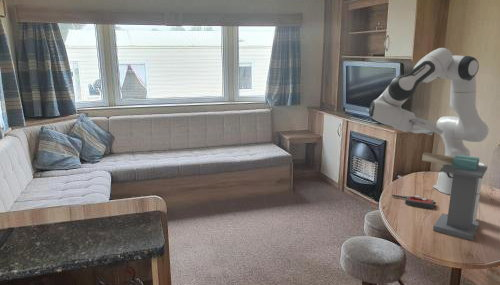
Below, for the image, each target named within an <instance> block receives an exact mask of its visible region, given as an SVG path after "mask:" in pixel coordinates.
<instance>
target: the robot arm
mask: <svg viewBox="0 0 500 285" xmlns="http://www.w3.org/2000/svg"><path fill="white" fill-rule="evenodd" d="M479 66H480V65H479V62H478V60H477V59H476V57H474V56H471V55H456V54H455V55H453V53H452V51H451V50H450V49H448V48H445V47H438V48H436V49H434V50H432V51H430V52H429V53H427V54H426V55H425V56H423V57H422V58H421V59H420V60H419V61H417V63H416V64H415V65H414V67H413V69H412V70H410V71H409V72H408V73H404V74H401V75H397V76H395V77H394V78H393V79H392V80H391V81H390V83H389V85H388V86H387V87H386V88H385V89H384V91H383V92H382V93H381V94H380V95H379V96H378V97H377V98H376V99H374V100H372V102H371V103H370V106H369V108H368V114H369V117H370V118H371V119H372V120H374V121H376V122H378V123H380V124H383V125H386V126H390V127H392V128H394V129H396V130H399V131H402V132H404V133H408V132H410V133H412V134H425V135H430V136H433V135H434V133H435V134H438V135H439V136H440V137H441V139H442V142H443V144H444V149H445V150H444V155H446V156H452V157H455V156H456V155H463V156H470V157H471V152H470V149H468V148H467V147H466V146H465V144H464V141H466V142H470V143H476V142H477V143H480V142H483V141H484V140H486V138H487V137H488V136H489V128H488V127H489V126H488V125H487V124H486V122H484V121H483V120H482V118H481V117H480V115H479V113H478V110H477V106H476V104H477V102H476V97H477V95H476V94H477V80H476V75H477V73H478V72H479V68H480V67H479ZM436 79H443V80H444V79H445V80H451V81H450V82H451V83H450V87H449V88H450V92H449V93H450V94H449V107H450V109H451V110H452V111H454V112H455V114H456V115H457V116H453V115H448V116H447V115H446V116H441V117H440V118H439V119H438V120H437V121H436V122H433V121H430V120H427V119H424V118H420V117H417V116H416V115H415V112H412V111H409V110H408V109H404V108H402V105H403V104H404V103H405V102H406V101H408V100H409V99H410V98H411V97H412V96H413V95H414V93H415V92H416V89H417V87H418V85H419V84H421V83H427V84H428V83H430V82H432V81H433V80H434V81H435V80H436ZM444 165H445V164H442V167H443V166H444ZM452 180H453V174H452V173H446V172H439V173H438V177H437V181H436V184H433V186H432V188H434V189H436V190H438V191H439V192H441V193H443V194H447V195H451V188H452Z"/></svg>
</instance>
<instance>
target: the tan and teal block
mask: <svg viewBox="0 0 500 285" xmlns="http://www.w3.org/2000/svg"><path fill="white" fill-rule="evenodd" d="M421 161H422V162H428V163H434V164H441V165H443V164H446V165H452V167H455V168H461V169H467V170H473V171H475V170H476V169H477V167H478V165H479V162H480V157H476V156H471V155H470V156H463V155H456V156H455V157H452V156H446V155H445V154H438V153H432V152H431V153H430V152H425V151H424V152H423V153H422V158H421Z"/></svg>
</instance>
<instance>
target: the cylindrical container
mask: <svg viewBox="0 0 500 285" xmlns="http://www.w3.org/2000/svg"><path fill="white" fill-rule="evenodd" d="M479 165H481V166H485V164H484V163H483V162H480V161H479ZM482 182H483V178H482V179H481V178H479V181H478V188H477V194H476V201H475V208H474V215H473V221H477V215H478V208H479V202H480V196H481V188H482V184H483V183H482Z"/></svg>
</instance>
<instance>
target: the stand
mask: <svg viewBox="0 0 500 285" xmlns="http://www.w3.org/2000/svg"><path fill="white" fill-rule="evenodd" d="M487 170H488V166H487V165H484V166H481V165H478V167H477V169H476V170H475V171H473V170H467V169H461V168H455V167H452V165H446V164H445V165H444V166H443V165H442V167H441V168H440V172H439V173H441V172H446V173H452V174H453V180H452V188H451V195H450V194H449V195H450V196H449V204H448V212H447V214H446V213H444V212H443V213H441V215H440V216H439V217H438V218H437V220H436V221H435V223H434V224H433V231H434V232H438V233H440V234H441V233H442V234H446V235H450V236H453V237H456V238H457V237H458V238H461V239H465V240H468V241H473V240H474V237H475V236H476V234H477V231H478V228H479V225H480V222H479V221H478V220H476V221H473V215H474V208H475V201H476V194H477V188H478V181H479V178H481V179H482V180H483V177H484V175H485V174H486V172H487Z"/></svg>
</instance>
